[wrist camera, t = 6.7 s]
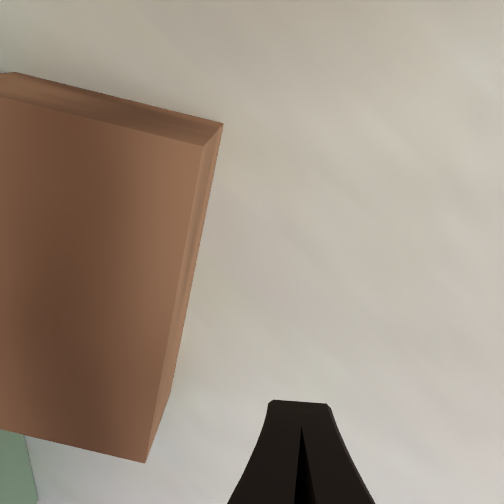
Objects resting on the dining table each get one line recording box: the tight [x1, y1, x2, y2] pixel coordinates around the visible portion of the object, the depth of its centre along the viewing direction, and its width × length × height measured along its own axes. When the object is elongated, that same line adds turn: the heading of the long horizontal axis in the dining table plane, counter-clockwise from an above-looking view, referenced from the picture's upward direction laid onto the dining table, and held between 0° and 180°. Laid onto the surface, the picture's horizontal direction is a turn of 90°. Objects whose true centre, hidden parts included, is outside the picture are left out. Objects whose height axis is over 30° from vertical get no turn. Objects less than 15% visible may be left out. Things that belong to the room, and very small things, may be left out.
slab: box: [0, 72, 223, 463], centre depth 14 cm, size 6×10×4 cm, turn 167°
